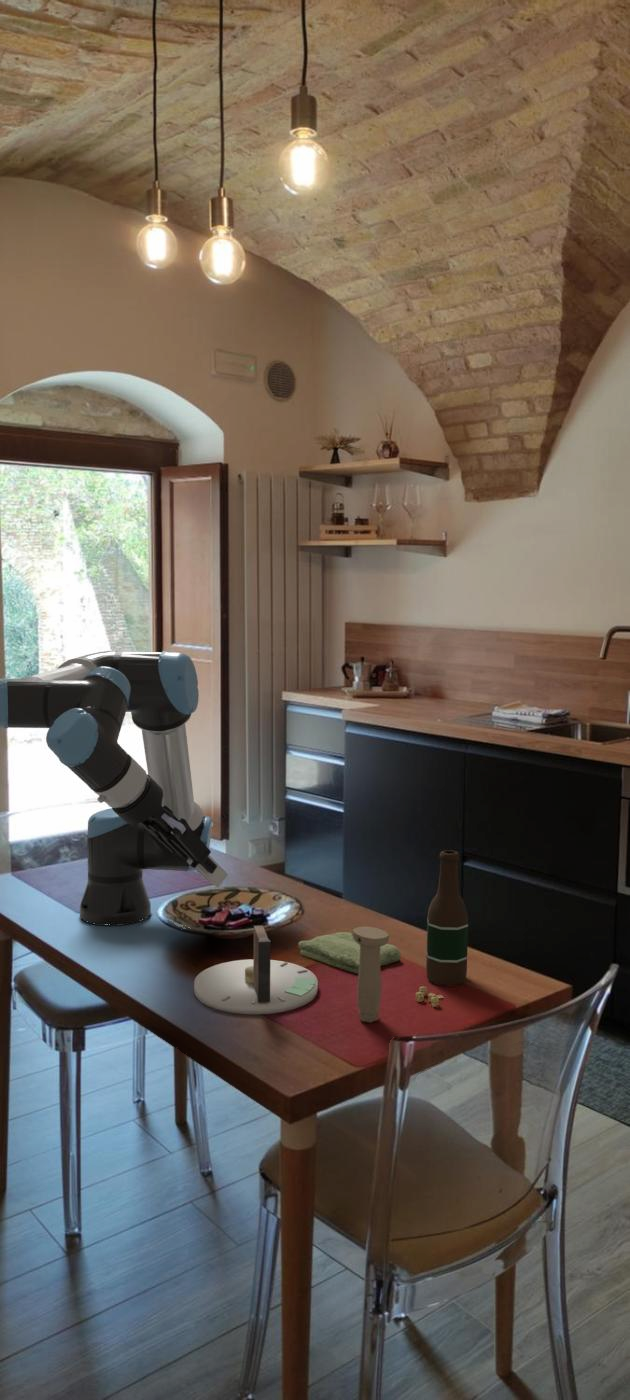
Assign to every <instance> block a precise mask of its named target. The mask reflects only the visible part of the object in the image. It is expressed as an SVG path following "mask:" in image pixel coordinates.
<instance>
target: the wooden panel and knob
mask: <svg viewBox="0 0 630 1400" xmlns="http://www.w3.org/2000/svg"><path fill="white" fill-rule="evenodd" d="M271 943H272V942H271V939H269V938H268V934H267V932H266V930H265V928H264V925H253V959H254V961H253V966H250V967H247V968H246V969H245V981H246V982H248V983H252V984H253V985H254V988H255V991H256V994H257V1001H258V1003H266V1002H270V960H271V948H272V947H271Z"/></svg>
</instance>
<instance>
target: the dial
mask: <svg viewBox="0 0 630 1400" xmlns="http://www.w3.org/2000/svg"><path fill="white" fill-rule="evenodd" d="M253 961H254V958H253V959H237V960H231V961H227V962H226V961H225V962H221V963H219V964H215V965H213V966H210V967H208V968H206V969H204V970H202V971H201V972H199V973H198V974H197V976H195V978H194V982H193V992H194V995H195V997H196V1000H198V1001H199V1002H201V1003H202V1004H204V1005H205V1006H207V1007H210V1008H212V1009H215V1010H218V1011H222V1012H227V1013H232V1014H240V1015H270V1014H277V1013H283V1012H289V1011H292V1010H295V1009H299V1008H301V1007H303V1006H305V1005H307V1004H309V1003H310V1002H312V1001H313V1000H314V999H315V998H316V996H317V994H318V984H319V983H318V982H319V981H318V978H317V976H316V975H315V974H314V972H312V971H311V970H309V969H308V968H306V967H304V966H302V965H299V964H295V963H293V962H288V961H282V960H275V959H270V1002H266V1003H258V1001H257V994H256V991H255V988H254V985H253V984H252V983H248V982H246V981H245V969H246V968H247V967H250V966H253Z"/></svg>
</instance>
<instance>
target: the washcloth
mask: <svg viewBox="0 0 630 1400" xmlns="http://www.w3.org/2000/svg"><path fill="white" fill-rule="evenodd" d="M297 945H298V948H299V949H300V952H299V953H300V955H301V956H304V957H306V958H308V959H312V960H315V961H318V962H319V963H320V962H321V963H323V964H327V965H329V966H332V967H335V968H337V969H341V970H344V971H347V972H349V971H350V972H349V973H352V972H353V973H352V974H355V973H356V975H358V974H359V962H360V945H359V944H358V943H357V942H356V941H355V940H354V938H353V933H351V932H347V931H345V932H343V931H342V932H339V931H338V932H336V933H330V934H325V935H318V936H316V937H314V938H312V939H309V940H301V941H299V942H298V944H297ZM401 958H402V954H401V952H400V950H399V948H398V947H397V946H395V945H393V944H388V943H387V944H385V945H383V946H381V947H380V967H381V966H387V965H390V964H394V963H398V961H400V960H401Z"/></svg>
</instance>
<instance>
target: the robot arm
mask: <svg viewBox="0 0 630 1400" xmlns="http://www.w3.org/2000/svg"><path fill="white" fill-rule="evenodd" d="M198 686H199V681H198V674H197V671H196V667H195V664H194V662H193V660H192V659H191V658H190V656H189V655H187V654H186V653H183V652H177V651H176V652H173V651H169V650H163V651H161V652H160V651H159V652H158V651H134V650H133V651H132V650H131V651H129V650H128V651H127V650H123V651H122V650H105V651H99V652H93V653H90V654H85V655H83V656H79V657H78V656H77V657H74V658H71V659H67V660H66V661H64V662H62V663H61V664H60V665H59V666H58V667H57V668H56V669H51V670H48V671H45V672H41V673H36V674H34V675H30V676H26V677H21V678H6V677H2V678H0V728H3V729H8V728H9V729H11V728H17V729H18V728H20V729H25V728H26V729H48V730H47V733H46V737H45V741H46V745H47V747H48V749H50V751H51V752H53V754H54V755H55V756H56V757H57V758H58V760H59V762H60V763H61V764H63V765H64V766H66V767H67V768H68V769H70V771H71V772H73V773H74V775H76V776H77V777H78V778H79V779H80V780H81V781H82V782H84V783H85V784H86V785H87V786H88V788H89V789H90V790H91V791H92V792H94V794H96V795H98V797H97V802H99V803H100V804H101V803H105V804H106V805H107V806H108V807H109V808H107V809H103V810H98V811H97V812H95V813H93V814H92V815H91V816H90V817H89V818H88V821H87V834H86V839H87V841H86V842H87V845H86V846H87V849H86V850H87V883H86V886H85V889H84V893H83V896H82V899H81V900H80V901H81V902H80V905H79V918H80V917H81V918H82V919H83V920H85V921H88V922H91V923H95V924H94V925H97V924H108V925H107V926H118V925H117V924H125V925H128V924H127V923H131V924H133V923H132V922H136V923H138V922H137V921H139V922H141V921H140V920H142V919H144V920H146V919H147V918H146V917H148V916H149V915H150V916H151V914H150V913H151V911H152V910H151V909H152V908H151V907H152V905H151V900H150V898H149V895H148V892H147V891H148V890H147V888H146V886H145V883H144V879H143V875H144V874H143V873H144V872H143V870H154V871H155V870H156V871H173V872H174V871H176V872H177V871H178V872H190V871H195V872H197V873H198V874H199V876H200V877H202V878H203V879H204V880H205V881H206V882H207V883H208V884H209V885H211V886H214V887H216V888H220V887H221V885H222V883H224V881H225V880H226V878H227V877H228V876H229V873H227V871H226V870H225V869H223V868H222V867H221V865H220V864H219V863H217V861H216V860H215V859H214V858H212V857H211V855H210V854H211V853H212V851H211V849H210V846H211V837H212V826H213V820H212V817H210V816H208V815H203V810H202V808H201V807H200V805H199V804H198V803H197V802H195V799H194V798H195V797H194V790H193V781H192V772H191V763H190V756H189V747H188V746H189V745H188V744H189V743H188V736H187V730H186V729H187V728H186V724H187V722H188V721H190V719H191V716H192V714H193V713H194V712H196V710H197V708H198V705H199V698H200V697H199V695H200V694H199V688H198ZM127 713H130V714H131V720H132V722H133V724H134V725H135V726H136V727H137V728H138V729H140V730H141V734H142V740H143V747H144V755H145V762H146V769H147V771H146V770H145V769H144V767H142V766H141V765H140V764H139V763H138V762H137V761H136V760H135V759H134V757H132V756H131V755H130V754H128V753H127V751H126V750H125V749H124V748H123V747H122V746H121V745H120V744H119V743H118V739H119V737H120V732H121V730H122V726H123V723H124V719H125V717H126V714H127ZM150 916H149V917H150ZM149 917H148V918H149ZM81 918H80V919H81ZM145 918H146V919H145ZM82 919H81V920H82ZM83 920H82V921H83ZM85 921H84V922H85ZM142 921H143V920H142ZM88 922H87V923H88ZM91 923H90V924H91ZM109 924H110V925H109Z"/></svg>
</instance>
